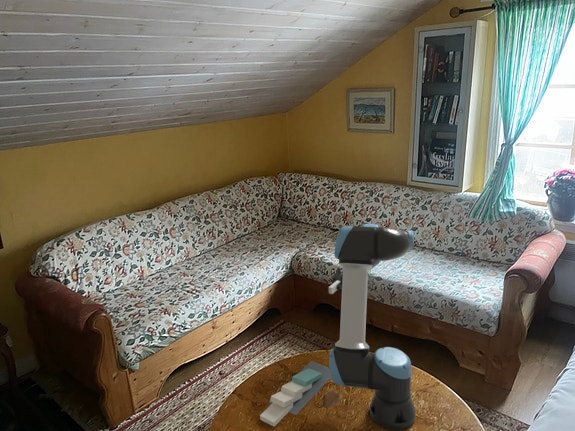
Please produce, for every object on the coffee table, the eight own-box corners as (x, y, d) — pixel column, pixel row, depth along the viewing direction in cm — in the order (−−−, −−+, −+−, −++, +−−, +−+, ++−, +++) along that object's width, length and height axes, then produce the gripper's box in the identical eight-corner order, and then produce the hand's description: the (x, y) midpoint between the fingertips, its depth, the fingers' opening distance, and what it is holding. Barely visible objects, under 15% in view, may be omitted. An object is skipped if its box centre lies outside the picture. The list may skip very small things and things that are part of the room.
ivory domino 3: (312, 383, 170) (295, 392, 161) (311, 387, 171) (294, 397, 162) (298, 377, 174) (281, 386, 165) (298, 382, 174) (281, 391, 165)
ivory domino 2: (293, 402, 161) (273, 422, 153) (293, 406, 162) (274, 426, 153) (279, 396, 165) (259, 415, 156) (279, 400, 165) (260, 419, 157)
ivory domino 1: (302, 393, 166) (284, 402, 157) (301, 397, 166) (284, 407, 157) (289, 387, 169) (270, 396, 160) (288, 391, 169) (270, 401, 160)
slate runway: (337, 372, 179) (337, 370, 179) (295, 417, 158) (295, 415, 158) (311, 363, 186) (311, 360, 186) (268, 404, 165) (268, 402, 165)
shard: (323, 416, 159) (323, 412, 158) (308, 405, 164) (308, 400, 164) (345, 401, 165) (345, 397, 164) (331, 390, 171) (330, 386, 170)
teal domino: (321, 373, 175) (305, 382, 166) (321, 377, 176) (305, 386, 167) (308, 368, 179) (292, 376, 170) (308, 372, 179) (291, 381, 170)
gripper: (373, 278, 191) (345, 303, 174) (346, 272, 199) (316, 295, 181) (373, 262, 189) (345, 285, 171) (345, 256, 197) (315, 278, 179)
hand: (330, 290), depth 176 cm, fingers closed
